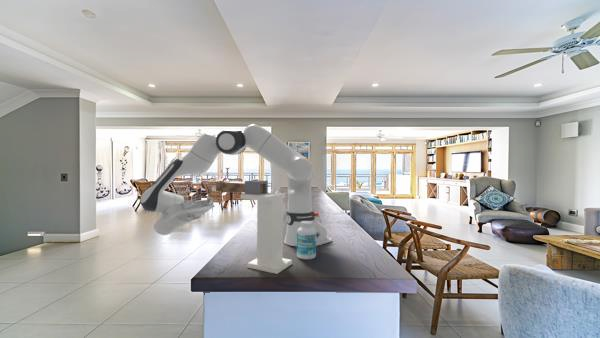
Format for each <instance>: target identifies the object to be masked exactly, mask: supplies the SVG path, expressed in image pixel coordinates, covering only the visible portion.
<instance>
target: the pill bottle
mask: <svg viewBox="0 0 600 338" xmlns="http://www.w3.org/2000/svg"><path fill="white" fill-rule="evenodd" d="M312 226H313V222H311V221H302V222H301V227H300V228H298V230H297V246H296V257H297V258H298V259H300V260H312V259H315V258H316V256H317V246H316V229H315V228H313V227H312Z"/></svg>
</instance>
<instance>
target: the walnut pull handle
mask: <svg viewBox="0 0 600 338" xmlns="http://www.w3.org/2000/svg"><path fill="white" fill-rule="evenodd" d="M215 191H217V192H228V193H229V192H232V193H242V194H245V183H240V182H239V183H237V182H216V183H215ZM260 193H263V184H260Z"/></svg>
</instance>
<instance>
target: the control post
mask: <svg viewBox="0 0 600 338" xmlns="http://www.w3.org/2000/svg"><path fill="white" fill-rule="evenodd" d="M244 184H245V193H242V194H240V200H251V201H252V200H253V201H257V202H256V203H257V204H256V205H257V206H256V208H257V210H256V211H257V213H256V214H257V215H256V221H257V223H256V224H257V225H256V226H257V227H256V228H257V229H256V230H257V232H256V234H257V235H256V236H257V237H256V241H257V242H256V248H257V249H256V250H257V252H256V258H254V259H253V260H251V261H249V262H247V268H249V269H253V270H257V271H261V272H262V271H263V272H267V273H270V274H276V275H278V274H280V272H282V271H283V270H285V269H287V268H289V267H290V266H291V265H292V264H293V260H292V259H290V258H284V257H283V255H284V254H283V253H284V251H283V250H284V247H283V243H284V237H283V236H284V235H283V234H284V229H283V227H284V226H283V223H284V222H283V220H284V218H283V217H284V216H283V215H284V202H283V201H284V200H283V199H285V198H286V194H285V193H279V192H278V193H277V192H269V187H268V186H269V185H268V184H269V183H268V180H259V179H256V180H254V179H253V180H245V181H244ZM260 184H263V193H260Z"/></svg>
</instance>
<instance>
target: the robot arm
mask: <svg viewBox="0 0 600 338" xmlns="http://www.w3.org/2000/svg"><path fill="white" fill-rule="evenodd" d="M246 148H248V149H251V150H252V151H254V152H255V153H256V154H258V155H259V156H260V157H262V158H263V159H264V160H266V161H268V162H269V163H270V164H271V165H273V166H274V167H276V168H277V169H278V170H280V171H281V172H282V173H284V174H285V175H286V176H287V211H286V231H285V236H284V239H283V243H284V245H285V244H286V245H287V246H292V247H297V230H298V228H300V227H301V222H302V221H311V222H313V226H312V227H313V228H315V229H316V247H317V246H321V245H324V244H327V243H331V242H333V239H332V237H330V236H328V232H327V228H326V226H324V225H323V224H322V223H321V222H319V221H318V220H317V219H316V217H317V218H318V217H319V216H320V213H319V212H318V211H315V212H314V211H313V209H312V208H313V207H312V206H313V203H312V202H313V197H312V196H313V194H312V178H311V177H312V176H313V173H314V165H313V163H312V162H311V160H310V159H308V158H307V157H306V156H305V155H303V154H302V153H300V152H298V151H297V150H295V149H294V148H292V147H291V146H289V145H288V144H287V143H285V142H284V141H282V140H281V139H280V138H278V137H277V136H276V135H275V134H273V133H271V132H270V131H269V130H267V129H266V128H264V127H261V125H257V124H256V123H255V124H254V123H252V124H248V125H247V126H246V127H245V128H244V129H243V130H239V129H238V130H237V129H230V128H229V129H227V128H226V129H224V130H221V131H219V133H218V134H217V135H216V134H214V133H211V132H205V133H203V134H202V135H200V137H199V138H198V139H197V140H196V141H195V142H194V144H193V146H192V147H191V148H190V150H189V151H188V153H187V154H185V155H184V156H183V157H181V158H176V159H174V160H173V161H172V162H171V163H170V164H169V165H168V167H166V169H165V170H163V172H162V173H161V174H160V175H159V176H158V177H157V179H156V180H155V181H154V182H153V183H152V184H151V185H150V186H149V187H148V188H147V189H145V190H144V191H143V193H142V194H141V196H140V199H139V203H140V205H141V207H142V208H143V209H144V211H148V212H154V213H155V212H156V213H160V214H161V215H160V217H159V218H157V220H156V221H155V222H154V224H153V229H154V231H155V233H157V234H158V235H161V236H168V235H170V234H172V233H175V232H176V231H177V230H179V229H180V228H181V227H184V226H186V225H187V224H188V223H190V222H192V221H195V220H197V219H200V218H202V217H203V215H204V214H206V213H207V212H209V211H210V210H211V209H213V208H214V206H215V204H214V197H213V196H210V197H207V198H206V199H201V200H195V199H189V200H187V201H186V199H185V197H184V196H183V195H181V194H177V193H175V192H169V191H166V189H167V188H168V187H169V185H170V184H171V183H172V182H173V181H174V179H176V178H177V177H181V176H190V175H191V176H193V175H194V176H197V175H202V174H204V173H206V172H208V170H210V168H211V166H212V165H213V163H214V162H215V160H216V158H217V157H218V156H219V155H220V154H221V153H222V154H225V155H229V156H230V155H231V156H235V155H239V154H242V153H243V152H244V151H245V150H246Z"/></svg>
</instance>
